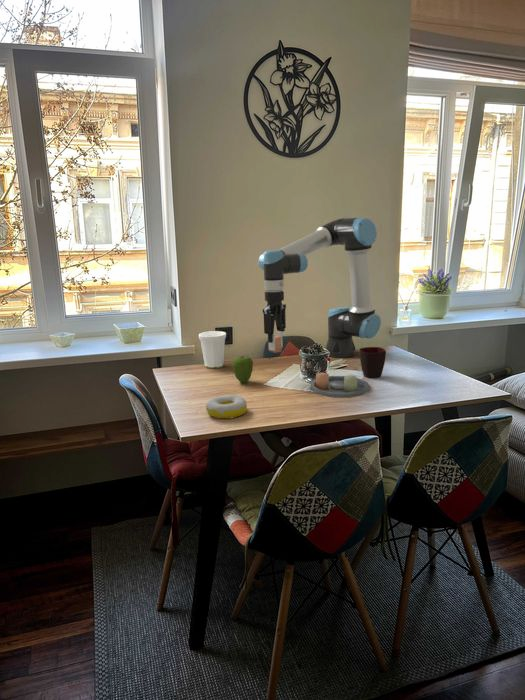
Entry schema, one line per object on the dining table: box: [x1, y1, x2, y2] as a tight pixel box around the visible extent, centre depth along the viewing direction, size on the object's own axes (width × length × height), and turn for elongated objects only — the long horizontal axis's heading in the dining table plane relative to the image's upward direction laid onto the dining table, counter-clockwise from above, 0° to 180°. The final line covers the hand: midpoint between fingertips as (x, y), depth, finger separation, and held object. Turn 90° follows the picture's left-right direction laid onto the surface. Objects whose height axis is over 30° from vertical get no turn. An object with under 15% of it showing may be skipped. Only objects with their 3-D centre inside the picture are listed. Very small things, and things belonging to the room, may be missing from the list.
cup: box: [198, 330, 227, 368], centre depth 231 cm, size 12×12×15 cm
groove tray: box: [309, 375, 370, 398], centre depth 195 cm, size 22×22×2 cm
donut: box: [205, 394, 248, 419], centre depth 174 cm, size 14×14×5 cm
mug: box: [359, 346, 387, 379], centre depth 209 cm, size 10×14×12 cm
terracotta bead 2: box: [315, 372, 330, 390], centre depth 194 cm, size 5×5×6 cm
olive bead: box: [344, 375, 358, 393], centre depth 189 cm, size 5×5×6 cm
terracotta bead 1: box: [269, 335, 283, 354], centre depth 202 cm, size 5×5×6 cm
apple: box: [232, 355, 254, 384], centre depth 206 cm, size 9×8×12 cm
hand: (275, 348), depth 202 cm, fingers closed on terracotta bead 1, 5 cm apart
